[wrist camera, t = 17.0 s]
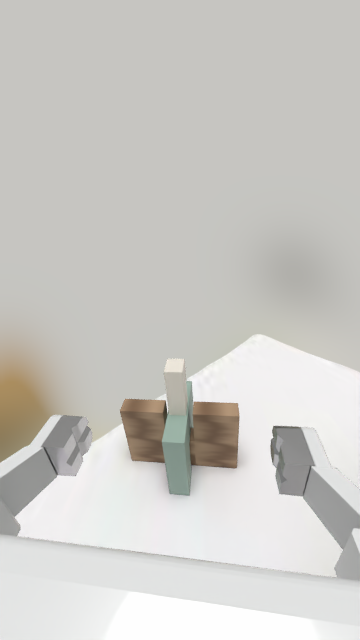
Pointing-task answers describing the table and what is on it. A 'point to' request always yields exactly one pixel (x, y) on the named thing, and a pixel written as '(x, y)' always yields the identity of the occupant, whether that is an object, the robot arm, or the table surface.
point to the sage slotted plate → (178, 427)
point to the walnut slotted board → (205, 438)
